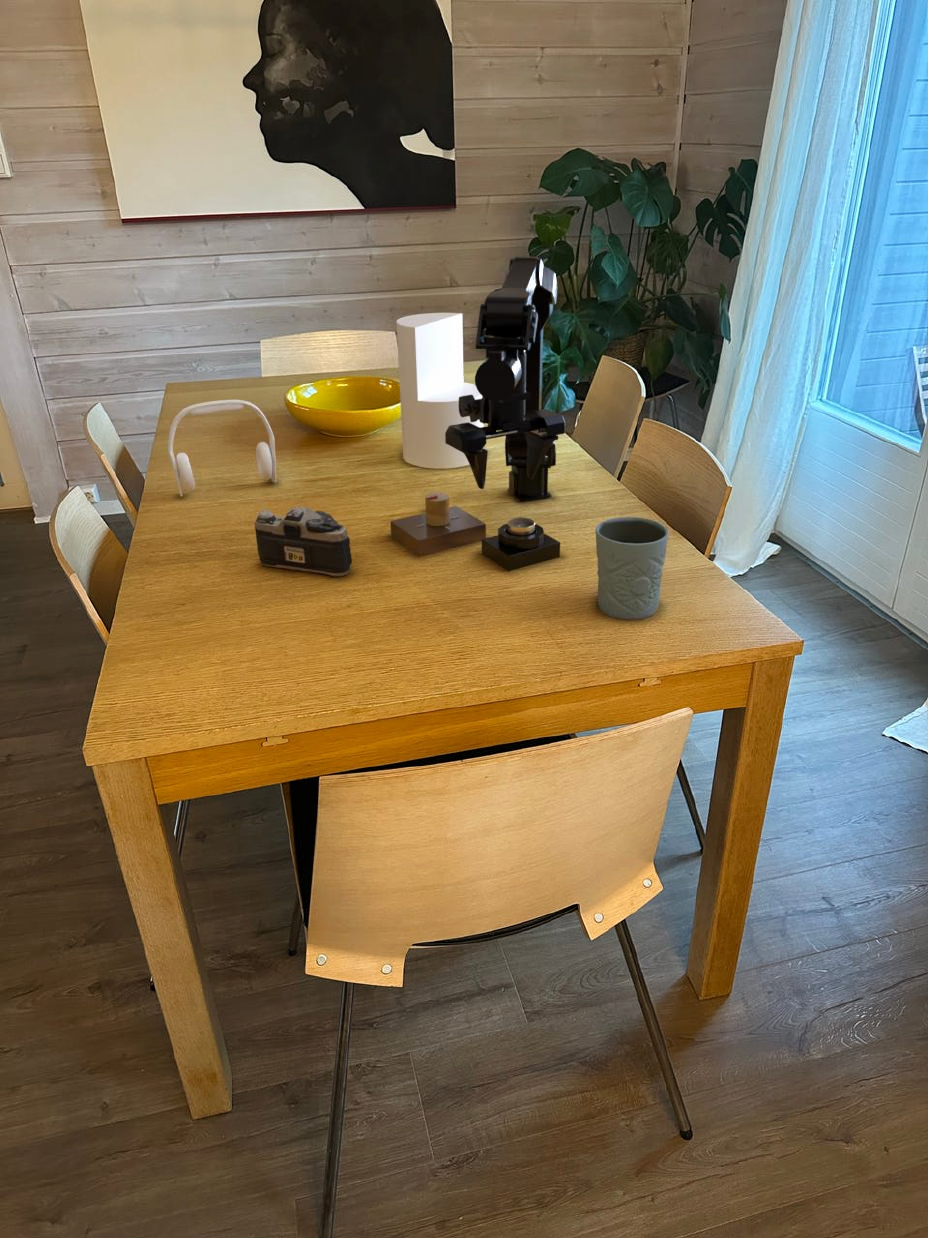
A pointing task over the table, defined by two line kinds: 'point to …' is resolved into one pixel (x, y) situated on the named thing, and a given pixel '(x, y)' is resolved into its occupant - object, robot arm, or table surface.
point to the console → (437, 532)
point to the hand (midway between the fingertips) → (505, 482)
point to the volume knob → (437, 509)
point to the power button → (520, 527)
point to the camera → (303, 542)
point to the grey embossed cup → (630, 566)
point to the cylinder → (432, 387)
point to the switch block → (520, 548)
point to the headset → (263, 453)
